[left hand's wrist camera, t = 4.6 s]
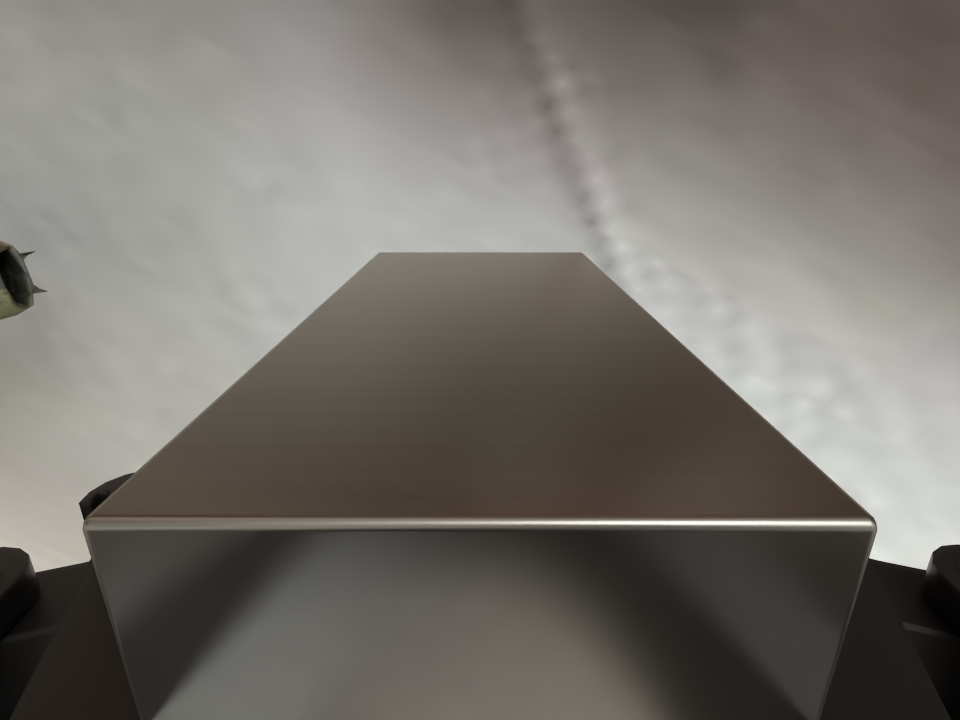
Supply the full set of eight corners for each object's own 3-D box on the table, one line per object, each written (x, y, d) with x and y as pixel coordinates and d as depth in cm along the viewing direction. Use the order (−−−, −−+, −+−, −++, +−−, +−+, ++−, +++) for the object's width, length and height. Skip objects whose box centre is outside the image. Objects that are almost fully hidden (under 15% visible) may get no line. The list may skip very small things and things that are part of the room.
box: (377, 251, 16) (73, 522, 4) (583, 252, 16) (885, 522, 4) (408, 733, 23) (331, 1354, 11) (551, 733, 23) (628, 1355, 11)
